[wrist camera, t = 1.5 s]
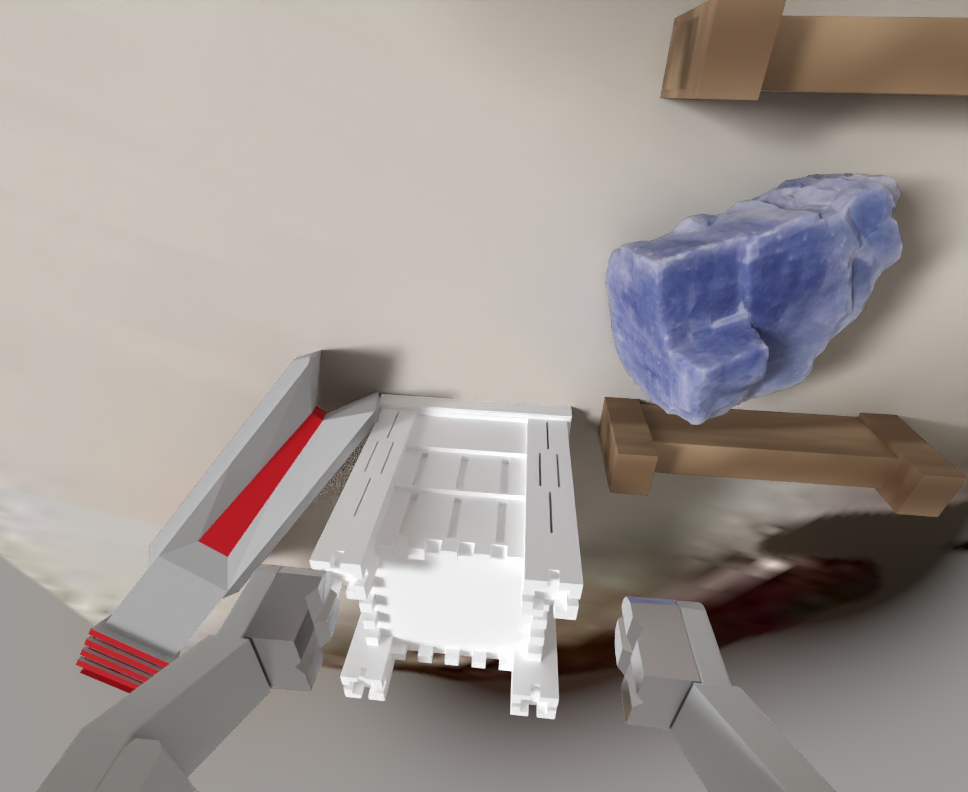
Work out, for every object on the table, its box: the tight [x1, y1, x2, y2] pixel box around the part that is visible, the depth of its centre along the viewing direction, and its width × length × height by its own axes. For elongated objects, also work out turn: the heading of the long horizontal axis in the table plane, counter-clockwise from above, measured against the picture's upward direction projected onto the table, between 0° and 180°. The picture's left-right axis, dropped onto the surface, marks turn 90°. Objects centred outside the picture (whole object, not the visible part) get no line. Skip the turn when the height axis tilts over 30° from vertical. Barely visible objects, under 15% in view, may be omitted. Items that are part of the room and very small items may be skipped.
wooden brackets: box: [598, 0, 968, 517], centre depth 26 cm, size 25×20×6 cm
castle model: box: [309, 394, 583, 719], centre depth 33 cm, size 14×14×15 cm
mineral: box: [605, 173, 903, 425], centre depth 26 cm, size 14×10×10 cm
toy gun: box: [76, 350, 380, 693], centre depth 38 cm, size 7×28×15 cm, turn 139°
